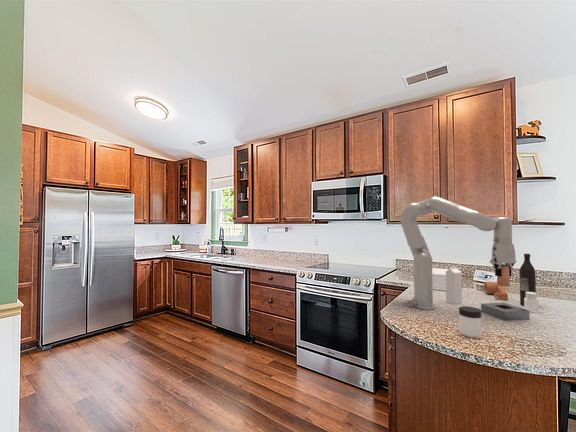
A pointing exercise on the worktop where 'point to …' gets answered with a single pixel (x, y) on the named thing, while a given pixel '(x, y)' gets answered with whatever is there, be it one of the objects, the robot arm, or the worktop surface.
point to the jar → (470, 321)
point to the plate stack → (439, 278)
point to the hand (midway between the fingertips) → (503, 275)
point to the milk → (453, 286)
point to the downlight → (531, 302)
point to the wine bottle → (527, 278)
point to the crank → (495, 290)
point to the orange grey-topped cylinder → (504, 276)
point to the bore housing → (505, 311)
